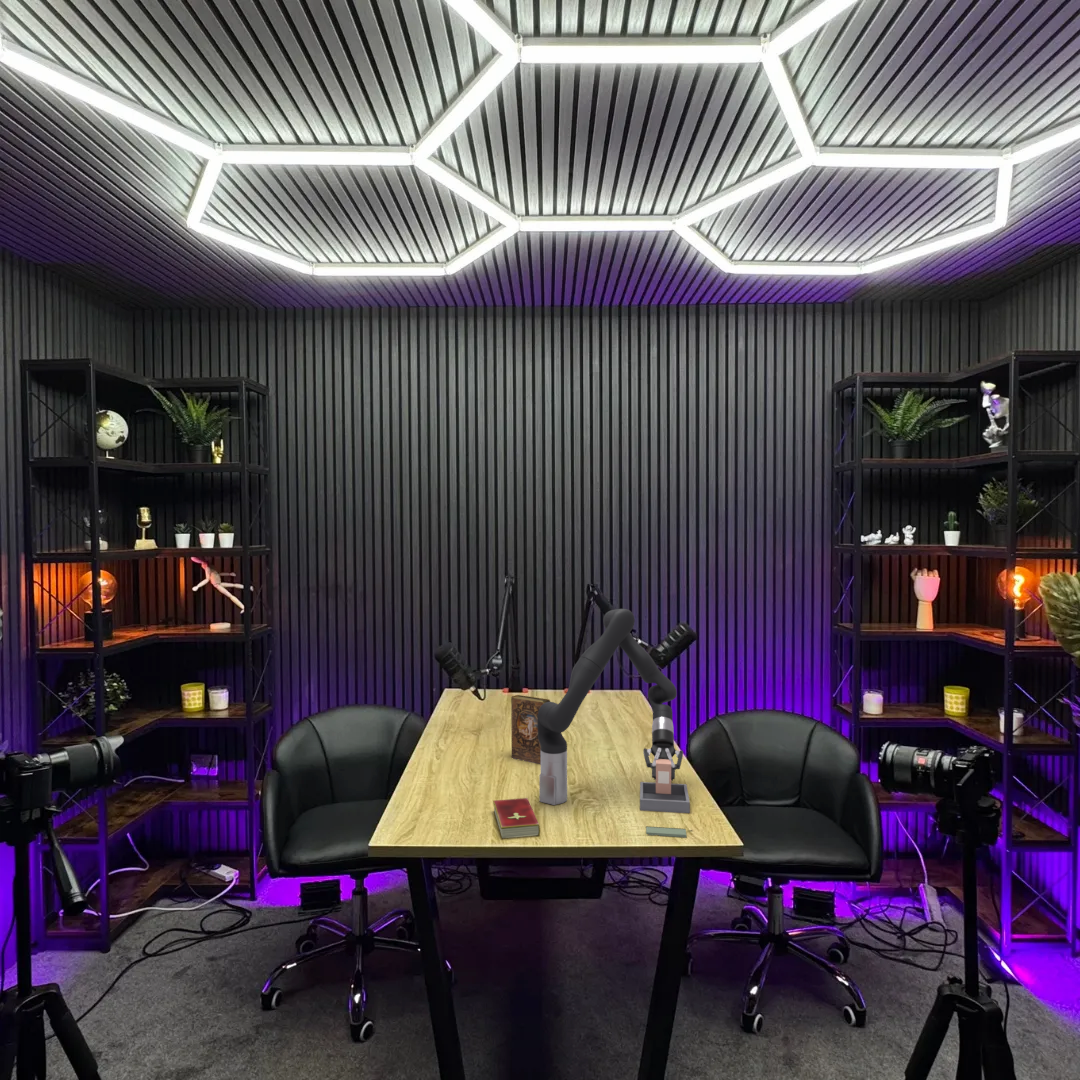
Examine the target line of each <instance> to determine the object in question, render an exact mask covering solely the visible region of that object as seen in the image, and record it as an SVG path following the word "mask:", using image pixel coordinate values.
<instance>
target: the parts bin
mask: <svg viewBox="0 0 1080 1080" xmlns="http://www.w3.org/2000/svg"><path fill="white" fill-rule="evenodd" d="M690 803H691V802H690V796H689V790H688V785H687V784H686V783H672V782H671V794H660V793H656V782H652V781H651V782H650V781H649V782H648V781H640V782H639V811H645V812H647V811H648V812H665V813H676V814H677V813H682V814H690V811H691V809H690V808H691V807H690V806H691V804H690Z"/></svg>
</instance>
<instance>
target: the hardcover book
mask: <svg viewBox="0 0 1080 1080" xmlns="http://www.w3.org/2000/svg"><path fill="white" fill-rule="evenodd" d="M492 803H493V807H494V809H493V810H494V815H495V819H496V822H497V825H498V828H499V832H500V835H501V838H502V839H510V838H522V837H532V836H533V837H534V836H541V826H540V824H539V821H538V819H537V816H536V814H535V811H534V810H533V807H532V804H531V802H530V800H529V799H528V797H520V798H508V799H506V798H505V799H493V800H492Z"/></svg>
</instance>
